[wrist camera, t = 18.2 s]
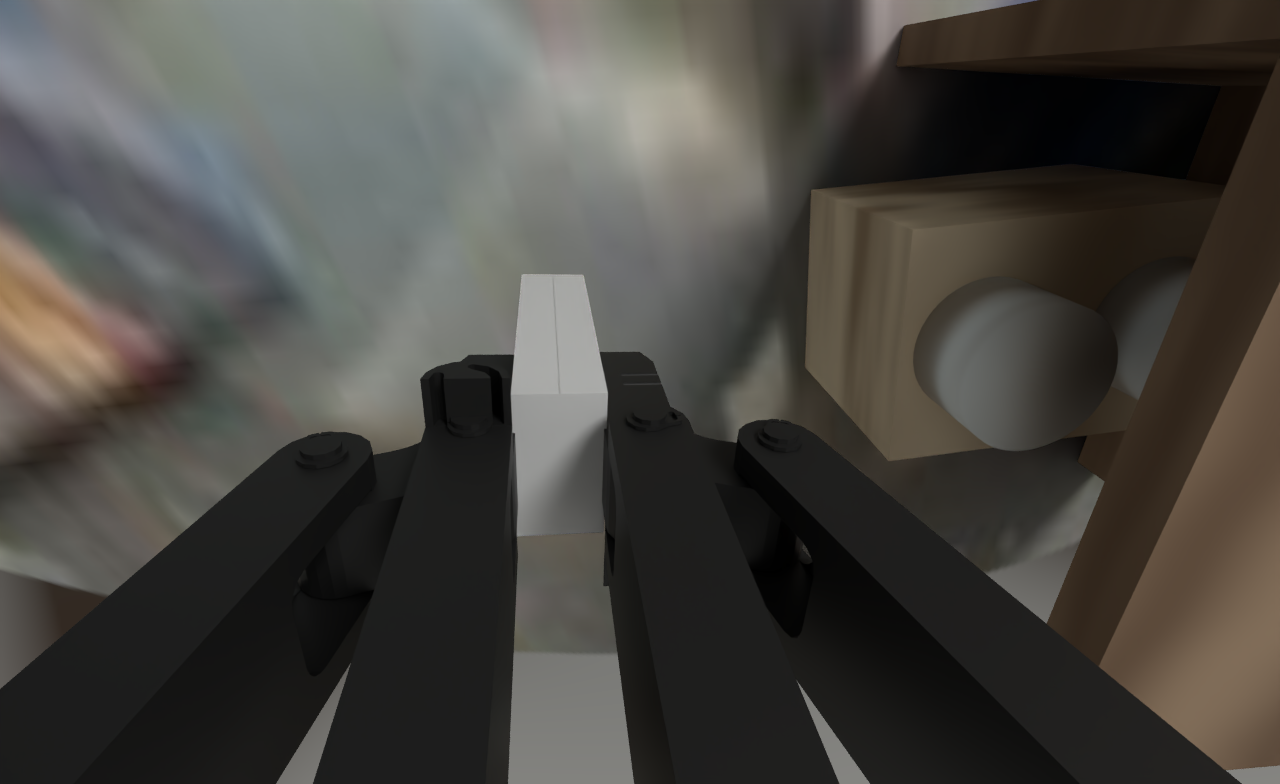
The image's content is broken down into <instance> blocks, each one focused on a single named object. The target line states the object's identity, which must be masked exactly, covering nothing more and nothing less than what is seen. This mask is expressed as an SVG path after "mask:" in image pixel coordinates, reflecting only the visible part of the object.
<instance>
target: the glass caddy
mask: <svg viewBox="0 0 1280 784" xmlns="http://www.w3.org/2000/svg"><path fill="white" fill-rule="evenodd" d="M1225 188H1226V186H1224V185H1217V184H1210V183H1203V182H1196V181H1189V180H1182V179H1175V178H1168V177H1161V176H1154V175H1147V174H1141V173H1134V172H1127V171H1120V170H1113V169H1106V168H1099V167H1092V166H1085V165H1078V164H1064V165H1054V166H1044V167H1034V168H1024V169H1014V170H1004V171H994V172H984V173H974V174H964V175H954V176H944V177H934V178H924V179H914V180H904V181H894V182H884V183H874V184H864V185H854V186H844V187H834V188H824V189H814V190H811V212H810V240H809V269H808V297H807V325H806V354H805V368H806V369H807V370H808V371H809V372H810V373H811V374H812V376H813V377H814V378H815V379H816V380H817V381H818V382H819V383H820V385H821V386H822V387H823V388H824V389H825V390H826V391H827V392H828V394H829V395H830V396H831V397H832V398H833V399H834V400H835V401H836V403H837V404H838V405H839V406H840V407H841V408H842V409H843V410H844V412H845V413H846V414H847V415H848V416H849V417H850V418H851V419H852V421H853V422H854V423H855V424H856V425H857V426H858V427H859V428H860V430H861V431H862V432H863V433H864V434H865V435H866V436H867V437H868V439H869V440H870V441H871V442H872V443H873V444H874V445H875V446H876V448H877V449H878V450H879V451H880V452H881V453H882V454H883V455H884V457H885V458H886V459H887V460H888V461H895V460H903V459H911V458H918V457H926V456H933V455H941V454H949V453H956V452H964V451H972V450H979V449H987V448H994V447H995V448H998V449H1002V450H1007V451H1025V450H1031V449H1036V448H1039V447H1042V446H1046V445H1048V444H1050V443H1053V442H1055V441H1057V440H1059V439H1063V438H1071V437H1078V436H1086V435H1094V434H1101V433H1109V432H1116V431H1124V430H1126V429H1127V427H1128V424H1129V422H1130V419H1131V417H1132V414H1133V412H1134V410H1135V407H1136V405H1137V402H1138V400H1139V397H1140V395H1141V392H1142V390H1143V388H1144V385H1145V383H1146V380H1147V378H1148V375H1149V373H1150V370H1151V368H1152V366H1153V363H1154V361H1155V358H1156V356H1157V353H1158V351H1159V349H1160V346H1161V344H1162V341H1163V339H1164V336H1165V334H1166V331H1167V329H1168V327H1169V324H1170V322H1171V319H1172V317H1173V314H1174V312H1175V310H1176V307H1177V305H1178V302H1179V300H1180V297H1181V295H1182V292H1183V290H1184V288H1185V285H1186V283H1187V280H1188V278H1189V275H1190V273H1191V270H1192V268H1193V266H1194V263H1195V261H1196V258H1197V256H1198V253H1199V251H1200V249H1201V246H1202V244H1203V241H1204V239H1205V236H1206V234H1207V231H1208V229H1209V227H1210V224H1211V222H1212V219H1213V217H1214V214H1215V212H1216V209H1217V207H1218V205H1219V202H1220V200H1221V197H1222V195H1223V192H1224V190H1225Z"/></svg>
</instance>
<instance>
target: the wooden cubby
mask: <svg viewBox="0 0 1280 784" xmlns="http://www.w3.org/2000/svg"><path fill="white" fill-rule="evenodd" d="M896 66H900V67H917V68H933V69H950V70H966V71H982V72H999V73H1015V74H1032V75H1048V76H1065V77H1081V78H1098V79H1114V80H1131V81H1147V82H1164V83H1180V84H1196V85H1213V86H1221V88H1220V91H1219V94H1218V96H1217V99H1216V101H1215V104H1214V107H1213V109H1212V112H1211V115H1210V117H1209V120H1208V122H1207V125H1206V128H1205V130H1204V133H1203V135H1202V138H1201V141H1200V143H1199V146H1198V148H1197V151H1196V154H1195V156H1194V159H1193V162H1192V164H1191V167H1190V169H1189V172H1188V175H1187V177H1186V180H1189V181H1196V182H1203V183H1210V184H1217V185H1224V186H1226V188H1225V190H1224V192H1223V195H1222V197H1221V200H1220V202H1219V205H1218V207H1217V209H1216V212H1215V214H1214V217H1213V219H1212V222H1211V224H1210V227H1209V229H1208V231H1207V234H1206V236H1205V239H1204V241H1203V244H1202V246H1201V249H1200V251H1199V253H1198V256H1197V258H1196V261H1195V263H1194V266H1193V268H1192V270H1191V273H1190V275H1189V278H1188V280H1187V283H1186V285H1185V288H1184V290H1183V292H1182V295H1181V297H1180V300H1179V302H1178V305H1177V307H1176V310H1175V312H1174V314H1173V317H1172V319H1171V322H1170V324H1169V327H1168V329H1167V331H1166V334H1165V336H1164V339H1163V341H1162V344H1161V346H1160V349H1159V351H1158V353H1157V356H1156V358H1155V361H1154V363H1153V366H1152V368H1151V370H1150V373H1149V375H1148V378H1147V380H1146V383H1145V385H1144V388H1143V390H1142V392H1141V395H1140V397H1139V400H1138V402H1137V405H1136V407H1135V410H1134V412H1133V414H1132V417H1131V419H1130V422H1129V424H1128V427H1127V429H1126V430H1124V431H1116V432H1109V433H1101V434H1094V435H1088V436H1087V438H1086V441H1085V443H1084V446H1083V449H1082V451H1081V454H1080V456H1079V459H1078V463H1080V464H1081V465H1083V466H1084V467H1085V468H1087V469H1088V470H1090V471H1091V472H1092V473H1094V474H1095V475H1097V476H1098V477H1099V478H1101V479H1102V480H1104V481H1105V483H1104V485H1103V488H1102V490H1101V492H1100V495H1099V497H1098V500H1097V502H1096V505H1095V507H1094V510H1093V512H1092V514H1091V517H1090V519H1089V522H1088V524H1087V527H1086V529H1085V532H1084V534H1083V536H1082V539H1081V541H1080V544H1079V546H1078V549H1077V551H1076V553H1075V556H1074V558H1073V561H1072V563H1071V566H1070V568H1069V571H1068V573H1067V575H1066V578H1065V580H1064V583H1063V585H1062V588H1061V590H1060V593H1059V595H1058V597H1057V600H1056V602H1055V605H1054V607H1053V610H1052V612H1051V615H1050V617H1049V619H1048V622H1047V625H1048V626H1050V627H1051V628H1052V629H1053V630H1055V631H1056V632H1057V633H1058V634H1059V635H1061V636H1062V637H1063V638H1064V639H1066V640H1067V641H1068V642H1069V643H1070V644H1072V645H1073V646H1074V647H1075V648H1077V649H1078V650H1079V651H1080V652H1081V653H1083V654H1084V655H1085V656H1086V657H1088V658H1089V659H1090V660H1091V661H1092V662H1094V663H1095V664H1096V665H1097V666H1099V667H1100V668H1101V669H1102V670H1103V671H1105V672H1106V673H1107V674H1108V675H1110V676H1111V677H1112V678H1113V679H1114V680H1116V681H1117V682H1118V683H1119V684H1121V685H1122V686H1123V687H1124V688H1125V689H1127V690H1128V691H1129V692H1130V693H1132V694H1133V695H1134V696H1135V697H1136V698H1138V699H1139V700H1140V701H1141V702H1143V703H1144V704H1145V705H1146V706H1147V707H1149V708H1150V709H1151V710H1152V711H1154V712H1155V713H1156V714H1157V715H1158V716H1160V717H1161V718H1162V719H1163V720H1165V721H1166V722H1167V723H1168V724H1169V725H1171V726H1172V727H1173V728H1174V729H1176V730H1177V731H1178V732H1179V733H1180V734H1182V735H1183V736H1184V737H1185V738H1187V739H1188V740H1189V741H1190V742H1191V743H1193V744H1194V745H1195V746H1196V747H1198V748H1199V749H1200V750H1201V751H1202V752H1204V753H1205V754H1206V755H1207V756H1209V757H1210V758H1211V759H1212V760H1213V761H1215V762H1216V763H1217V764H1218V765H1220V766H1221V767H1222V768H1223V769H1224V770H1233V769H1244V768H1255V767H1267V766H1277V765H1280V0H1038V1H1033V2H1027V3H1022V4H1017V5H1011V6H1006V7H1001V8H995V9H990V10H985V11H979V12H974V13H969V14H963V15H958V16H953V17H948V18H942V19H937V20H932V21H926V22H921V23H916V24H910V25H905V26H904V28H903V33H902V39H901V44H900V49H899V54H898V60H897V65H896Z"/></svg>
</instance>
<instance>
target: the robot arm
mask: <svg viewBox="0 0 1280 784" xmlns="http://www.w3.org/2000/svg"><path fill="white" fill-rule="evenodd" d="M420 381H421V390H422V399H423V408H424V417H425V426H426V428H425V431H424V434H423V437H422V440H421V442H420V443H418V444H415V445H413V446H410V447H408V448H404V449H400V450H396V451H391V452H386V453H381V454H376V455H373V452H372V447H371V444H370V441H368V440H367V439H365V438H364V437H362V436H361V435H356V434H352V433H347V432H321V434H319V433H316V434H311V435H308V436H307V437H305V438H302V439H299V440H296V441H293V442H291V443H290V444H288V445H286V446H285V447H283V448H282V449H280V450H278V451H277V452H276V453H275V454H274V455H273V456H271V457H270V458H269V459H268V460H267V461H266V462H264V463H263V464H262V465H261V466H260V467H259V468H257V469H256V470H255V471H254V472H253V473H252V474H250V475H249V476H248V477H247V478H246V479H245V480H243V481H242V482H241V483H240V484H239V485H238V486H236V487H235V488H234V489H233V490H232V491H231V492H229V493H228V494H227V495H226V496H225V497H224V498H222V499H221V500H220V501H219V502H218V503H217V504H215V505H214V506H213V507H212V508H211V509H210V510H209V511H207V512H206V513H205V514H204V515H203V516H202V517H200V518H199V519H198V520H197V521H196V522H195V523H193V524H192V525H191V526H190V527H189V528H188V529H186V530H185V531H184V532H183V533H182V534H181V535H179V536H178V537H177V538H176V539H175V540H174V541H172V542H171V543H170V544H169V545H168V546H167V547H165V548H164V549H163V550H162V551H161V552H160V553H158V554H157V555H156V556H155V557H154V558H153V559H151V560H150V561H149V562H148V563H147V564H146V565H144V566H143V567H142V568H141V569H140V570H139V571H137V572H136V573H135V574H134V575H133V576H132V577H130V578H129V579H128V580H127V581H126V582H125V583H123V584H122V585H121V586H120V587H119V588H118V589H116V590H115V591H114V592H113V593H112V594H111V595H109V596H108V597H107V598H106V599H105V600H104V601H102V602H101V603H100V604H99V605H98V606H97V607H95V608H94V609H93V610H92V611H91V612H90V613H89V614H87V615H86V616H85V617H84V618H83V619H82V620H80V621H79V622H78V623H77V624H76V625H75V626H73V627H72V628H71V629H70V630H69V631H68V632H66V633H65V634H64V635H63V636H62V637H61V638H59V639H58V640H57V641H56V642H55V643H54V644H52V645H51V646H50V647H49V648H48V649H46V650H45V651H44V652H43V653H42V654H41V655H39V656H38V657H37V658H36V659H35V660H34V661H32V662H31V663H30V664H29V665H28V666H27V667H25V668H24V669H23V670H22V671H21V672H20V673H19V674H17V675H16V676H15V677H14V678H13V679H11V680H10V681H9V682H8V683H7V684H6V685H4V686H3V687H2V688H1V689H0V784H276V783H277V781H278V779H279V778H280V776H281V774H282V773H283V771H284V770H285V768H286V766H287V765H288V763H289V762H290V760H291V758H292V757H293V755H294V753H295V752H296V750H297V749H298V747H299V745H300V744H301V742H302V741H303V739H304V737H305V736H306V734H307V732H308V731H309V729H310V728H311V726H312V724H313V723H314V721H315V720H316V718H317V716H318V715H319V713H320V711H321V710H322V708H323V707H324V705H325V703H326V702H327V700H328V699H329V697H330V695H331V694H332V692H333V690H334V689H335V687H336V686H337V684H338V682H339V681H340V679H341V677H342V676H343V674H344V673H345V671H346V669H347V668H348V666H349V664H350V663H351V665H350V668H349V672H348V675H347V678H346V682H345V684H344V687H343V690H342V694H341V697H340V700H339V703H338V706H337V709H336V713H335V716H334V719H333V722H332V725H331V728H330V731H329V735H328V738H327V741H326V745H325V747H324V751H323V754H322V757H321V760H320V763H319V766H318V769H317V773H316V776H315V779H314V782H313V784H508V768H509V745H510V722H511V721H510V720H511V698H512V676H513V653H514V630H515V607H516V584H517V561H518V551H517V536H535V535H556V534H577V533H599V532H603V531H604V519H605V554H604V584H603V586H609V589H610V597H611V605H612V613H613V621H614V629H615V636H616V644H617V652H618V660H619V668H620V675H621V683H622V691H623V699H624V706H625V714H626V722H627V730H628V738H629V746H630V754H631V761H632V769H633V777H634V784H839V782H838V779H837V777H836V775H835V773H834V770H833V767H832V765H831V763H830V760H829V758H828V755H827V753H826V751H825V748H824V746H823V743H822V741H821V738H820V736H819V734H818V731H817V729H816V726H815V724H814V722H813V720H812V717H811V715H810V712H809V710H808V707H807V705H806V702H805V700H804V697H803V695H802V693H801V690H800V688H799V685H798V683H799V684H800V685H801V687H802V688H803V690H804V691H805V692H806V694H807V695H808V697H809V698H810V699H811V701H812V702H813V704H814V705H815V706H816V708H817V709H818V711H819V712H820V714H821V715H822V716H823V718H824V719H825V721H826V722H827V723H828V725H829V726H830V728H831V729H832V730H833V732H834V733H835V735H836V736H837V737H838V739H839V740H840V742H841V743H842V744H843V746H844V747H845V749H846V750H847V751H848V753H849V754H850V756H851V757H852V759H853V760H854V761H855V763H856V764H857V766H858V767H859V768H860V770H861V771H862V773H863V774H864V775H865V777H866V778H867V780H868V781H869V783H870V784H1242V783H1240V782H1239V781H1238V780H1237V779H1235V778H1234V777H1233V776H1232V775H1231V774H1229V773H1228V772H1227V771H1226V770H1224V769H1223V768H1222V767H1221V766H1220V765H1218V764H1217V763H1216V762H1215V761H1213V760H1212V759H1211V758H1210V757H1209V756H1207V755H1206V754H1205V753H1204V752H1202V751H1201V750H1200V749H1199V748H1198V747H1196V746H1195V745H1194V744H1193V743H1191V742H1190V741H1189V740H1188V739H1187V738H1185V737H1184V736H1183V735H1182V734H1180V733H1179V732H1178V731H1177V730H1176V729H1174V728H1173V727H1172V726H1171V725H1169V724H1168V723H1167V722H1166V721H1165V720H1163V719H1162V718H1161V717H1160V716H1158V715H1157V714H1156V713H1155V712H1154V711H1152V710H1151V709H1150V708H1149V707H1147V706H1146V705H1145V704H1144V703H1143V702H1141V701H1140V700H1139V699H1138V698H1136V697H1135V696H1134V695H1133V694H1132V693H1130V692H1129V691H1128V690H1127V689H1125V688H1124V687H1123V686H1122V685H1121V684H1119V683H1118V682H1117V681H1116V680H1114V679H1113V678H1112V677H1111V676H1110V675H1108V674H1107V673H1106V672H1105V671H1103V670H1102V669H1101V668H1100V667H1099V666H1097V665H1096V664H1095V663H1094V662H1092V661H1091V660H1090V659H1089V658H1088V657H1086V656H1085V655H1084V654H1083V653H1081V652H1080V651H1079V650H1078V649H1077V648H1075V647H1074V646H1073V645H1072V644H1070V643H1069V642H1068V641H1067V640H1066V639H1064V638H1063V637H1062V636H1061V635H1059V634H1058V633H1057V632H1056V631H1055V630H1053V629H1052V628H1051V627H1050V626H1048V625H1047V624H1046V623H1045V622H1044V621H1042V620H1041V619H1040V618H1039V617H1037V616H1036V615H1035V614H1034V613H1033V612H1031V611H1030V610H1029V609H1028V608H1026V607H1025V606H1024V605H1023V604H1022V603H1020V602H1019V601H1018V600H1017V599H1015V598H1014V597H1013V596H1012V595H1011V594H1009V593H1008V592H1007V591H1006V590H1004V589H1003V588H1002V587H1001V586H999V585H998V584H997V583H996V582H995V581H993V580H992V579H991V578H990V577H989V576H987V575H986V574H985V573H984V572H982V571H981V570H980V569H979V568H978V567H976V566H975V565H974V564H973V563H971V562H970V561H969V560H968V559H967V558H965V557H964V556H963V555H962V554H960V553H959V552H958V551H957V550H956V549H954V548H953V547H952V546H951V545H949V544H948V543H947V542H946V541H945V540H943V539H942V538H941V537H940V536H938V535H937V534H936V533H935V532H934V531H932V530H931V529H930V528H929V527H927V526H926V525H925V524H924V523H923V522H921V521H920V520H919V519H918V518H916V517H915V516H914V515H913V514H912V513H910V512H909V511H908V510H907V509H905V508H904V507H903V506H902V505H901V504H899V503H898V502H897V501H896V500H894V499H893V498H892V497H891V496H890V495H888V494H887V493H886V492H885V491H884V490H882V489H881V488H880V487H879V486H877V485H876V484H875V483H874V482H873V481H871V480H870V479H869V478H868V477H866V476H865V475H864V474H863V473H862V472H860V471H859V470H858V469H857V468H855V467H854V466H853V465H852V464H851V463H849V462H848V461H847V460H846V459H844V458H843V457H842V456H841V455H840V454H838V453H837V452H836V451H835V450H833V449H832V448H831V447H830V446H829V445H827V444H826V443H825V442H824V441H822V440H821V439H820V438H819V437H818V436H816V435H815V434H814V433H812V432H810V431H809V430H807V429H805V428H804V427H801V426H798V425H795V424H792V423H791V422H789V421H784V420H781V421H779V420H777V419H770V420H758V421H754V422H751V423H748V424H745V425H744V426H743V427H742V428H741V429H739V432H738V439H737V443H733V442H726V441H720V440H714V439H709V438H705V437H701V436H699V435H696V434H694V432H693V430H692V427H691V425H690V422H689V420H688V419H687V418H686V417H685V415H684V414H683V413H681V412H679V411H677V410H675V409H674V408H671V407H670V405H669V402H668V400H667V397H666V395H665V392H664V389H663V387H662V384H661V381H660V379H659V376H658V375H657V371H656V368H655V366H654V363H653V361H651V360H650V359H649V358H647V357H646V356H644V355H643V354H642V353H640V352H599V348H598V343H597V338H596V333H595V328H594V324H593V319H592V314H591V309H590V304H589V299H588V294H587V290H586V285H585V280H584V275H556V274H522V278H521V289H520V300H519V310H518V321H517V332H516V343H515V353H514V355H468V356H467V357H466V358H465V359H463V360H462V361H461V362H453V363H449V364H445V365H441V366H438V367H436V368H434V369H432V370H430V371H428V372H426V373H425V374H424V375H423V377H422V378H421V379H420ZM803 543H804V545H805V546H806V548H807V549H808V551H809V554H810V556H811V558H810V557H809V556H808V555H807V554H806V553H805V552H804V551H803V549H802V545H803ZM351 661H352V662H351ZM797 681H798V683H797Z"/></svg>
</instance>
